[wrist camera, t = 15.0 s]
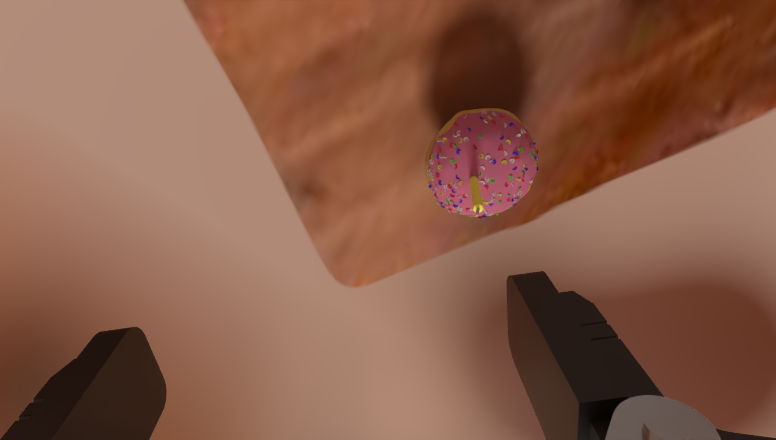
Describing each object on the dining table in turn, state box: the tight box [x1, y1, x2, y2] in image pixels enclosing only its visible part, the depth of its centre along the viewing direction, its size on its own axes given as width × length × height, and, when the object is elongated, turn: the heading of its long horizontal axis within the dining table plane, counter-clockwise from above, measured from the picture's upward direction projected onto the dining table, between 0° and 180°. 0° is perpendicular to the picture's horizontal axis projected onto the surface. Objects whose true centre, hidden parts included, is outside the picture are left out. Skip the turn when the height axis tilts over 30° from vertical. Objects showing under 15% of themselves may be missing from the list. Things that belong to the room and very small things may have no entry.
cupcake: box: [425, 108, 538, 218], centre depth 35 cm, size 9×8×12 cm
